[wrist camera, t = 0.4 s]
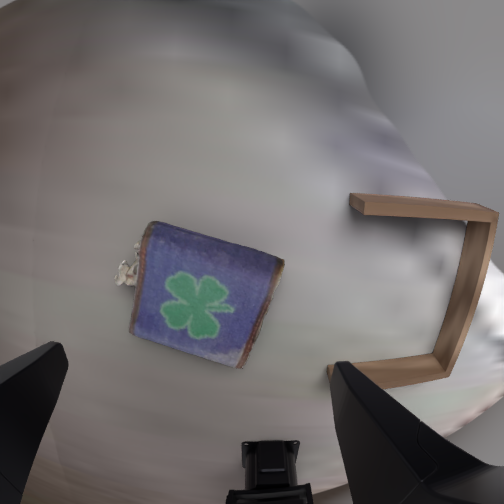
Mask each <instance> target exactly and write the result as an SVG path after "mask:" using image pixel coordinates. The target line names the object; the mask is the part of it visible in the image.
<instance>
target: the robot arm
mask: <svg viewBox="0 0 504 504" xmlns="http://www.w3.org/2000/svg"><path fill="white" fill-rule="evenodd" d="M67 370H68V359H67V357H66V354H65V351H64V348H63V346H62V344H61V343H59V342H54V341H50V342H48V343H46V344H44V345H42V346H40V347H38V348H36V349H34V350H32V351H30V352H27V353H25V354H23V355H21V356H19V357H17V358H15V359H13V360H11V361H9V362H7V363H5V364H3V365H1V366H0V504H20V502H21V499H22V496H23V495H22V494H23V492H24V489H25V485H26V482H27V479H28V476H29V473H30V470H31V467H32V464H33V461H34V459H35V456H36V453H37V450H38V448H39V445H40V442H41V440H42V437H43V435H44V432H45V430H46V427H47V425H48V422H49V420H50V417H51V415H52V412H53V410H54V408H55V405H56V403H57V400H58V397H59V394H60V391H61V388H62V385H63V382H64V379H65V376H66V373H67ZM330 391H331V398H332V406H333V415H334V423H335V429H336V434H337V438H338V442H339V446H340V450H341V454H342V458H343V462H344V466H345V470H346V475H347V479H348V483H349V487H350V492H351V496H352V500H353V504H504V466H493V465H489V464H486V463H484V462H482V461H480V460H479V459H477V458H475V457H474V456H472V455H470V454H469V453H467V452H466V451H464V450H462V449H461V448H459V447H457V446H456V445H454V444H453V443H451V442H450V441H448V440H447V439H445V438H444V437H442V436H441V435H439V434H438V433H437V432H435V431H434V430H433V429H431V428H430V427H429V426H427V425H426V424H425V423H424V422H422V421H421V422H420V419H419V418H417V417H416V416H415V415H414V414H412V413H411V412H410V411H409V410H407V409H406V408H405V407H404V406H402V405H401V404H400V403H399V402H398V401H396V400H395V399H394V398H393V397H391V396H390V395H389V394H388V393H387V392H385V391H384V390H383V389H382V388H380V387H379V386H378V385H377V384H376V383H374V382H373V381H372V380H371V379H369V378H368V377H367V376H366V375H365V374H363V373H362V372H361V371H360V370H359V369H357V368H356V367H355V366H354V365H353V364H351V363H350V362H349V361H338V362H336V363H335V364H334V368H333V372H332V376H331V380H330ZM294 442H297V444H293V443H294ZM245 443H247V444H248V445H244V444H245ZM299 445H300V441H297V440H295V441H260V442H243V443H242V463H243V468H245V490H229V494H228V495H227V499H226V504H313V499H312V492H311V486H310V483H307V484H305V485H297V475H296V466H295V463H296V459H297V454H298V450H299Z"/></svg>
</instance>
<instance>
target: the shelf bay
mask: <svg viewBox="0 0 504 504" xmlns="http://www.w3.org/2000/svg"><path fill="white" fill-rule="evenodd" d="M349 205H351V206H352V207H354V208H355V209H356V210H358V211H359V212H361V213H362V214H363V215H380V216H402V217H421V218H437V219H453V220H467V221H468V223H467V229H466V234H465V240H464V245H463V250H462V254H461V259H460V263H459V268H458V272H457V276H456V280H455V284H454V288H453V291H452V295H451V299H450V302H449V305H448V309H447V312H446V315H445V319H444V322H443V325H442V328H441V331H440V334H439V337H438V339H437V342H436V345H435V348H434V351H433V353H431V354H425V355H418V356H411V357H404V358H396V359H388V360H380V361H370V362H360V363H351V364H353V365H354V366H355V367H356V368H357V369H359V370H360V371H361V372H362V373H363V374H365V375H366V376H367V377H368V378H369V379H371V380H372V381H373V382H374V383H376V384H377V385H378V386H379V387H380V388H382V389H388V388H394V387H401V386H406V385H412V384H418V383H423V382H428V381H433V380H437V379H442V378H447V377H449V376H450V374H451V371H452V369H453V367H454V365H455V362H456V360H457V358H458V355H459V353H460V351H461V348H462V346H463V343H464V341H465V338H466V335H467V333H468V330H469V327H470V325H471V322H472V319H473V316H474V313H475V310H476V307H477V304H478V301H479V297H480V294H481V291H482V287H483V284H484V280H485V277H486V273H487V269H488V265H489V261H490V257H491V252H492V248H493V243H494V238H495V233H496V228H497V222H498V216H499V212H496V211H494V210H491V209H489V208H486V207H484V206H481V205H479V204H476V203H468V202H459V201H449V200H439V199H429V198H417V197H405V196H392V195H377V194H360V193H350V203H349ZM333 368H334V365H328V368H327V374H328V378H329V381H330V380H331V376H332V372H333Z"/></svg>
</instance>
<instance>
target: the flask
mask: <svg viewBox="0 0 504 504" xmlns="http://www.w3.org/2000/svg"><path fill="white" fill-rule="evenodd" d="M134 248H135V249H138V253H137V252H135V257H136V261H134V264H133V265H132V266H131V267H129V266H128V264H127V262H126V261H122V263H121V264H120V266H119V269H118V273H119V277H117V275H115V278H114V279H115V280H116V282H115V284H116V285H118V286H120V285H122V284H123V283H124V282H125V284H126V285H128V286H136V288H135V295H134V301H133V306H132V314H131V320H130V324H129V332H130V333H131V334H132V335H135V336H138V337H140V338H143V339H147V340H151V341H154V342H156V343H159V344H162V345H165V346H169V347H171V348H174V349H178V350H181V351H184V352H186V353H189V354H193V355H196V356H199V357H202V358H205V359H208V360H212V361H215V362H218V363H221V364H224V365H227V366H231V367H234V368H242V366H244V365H245V364H246V362H247V360H248V358H249V357H250V354H249V352H250V351H251V349H252V347H253V345H254V344H255V341H256V339H257V337H258V335H259V332H260V330H261V326H262V322H263V318H264V316H265V314H267V312H268V308H269V305H270V302H271V301H272V299H273V294H274V291H275V289H276V288H277V286H278V284H279V283H280V278H281V275H282V273H281V272H282V271H283V268H284V265H285V264H284V259H280V258H278V257H276V256H273V255H270V254H267V253H265V252H262V251H258V250H256V249H253V248H249V247H245V246H241V245H239V244H234V243H230V242H227V241H223V240H220V239H217V238H214V237H209V236H206V235H203V234H200V233H197V232H193V231H190V230H187V229H183V228H180V227H176V226H173V225H170V224H167V223H164V222H159V221H152V222H150V223H148V225H147V227H146V229H145V230H144V233H143V236H142V238H141V240H140V241H139V242H137V243H136V244H135V246H134ZM242 369H243V368H242Z"/></svg>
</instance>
